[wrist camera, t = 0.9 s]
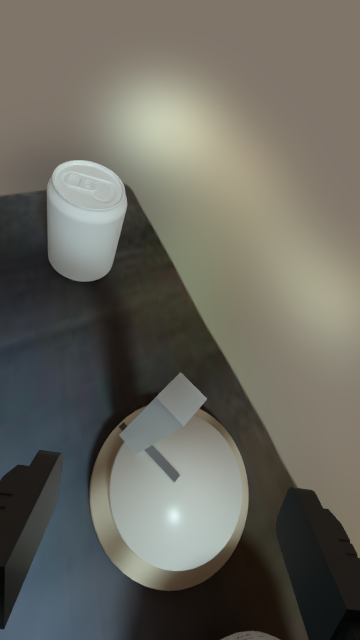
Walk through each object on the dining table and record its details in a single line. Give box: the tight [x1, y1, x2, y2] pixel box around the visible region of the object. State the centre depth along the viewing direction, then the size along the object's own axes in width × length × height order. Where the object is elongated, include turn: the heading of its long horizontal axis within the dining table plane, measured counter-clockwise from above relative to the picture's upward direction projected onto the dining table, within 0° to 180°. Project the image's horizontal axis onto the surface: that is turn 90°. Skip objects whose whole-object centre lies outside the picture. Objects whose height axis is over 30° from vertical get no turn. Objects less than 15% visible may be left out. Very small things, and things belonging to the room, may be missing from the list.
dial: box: [108, 372, 242, 571], centre depth 24 cm, size 14×13×14 cm
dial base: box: [89, 406, 248, 591], centre depth 31 cm, size 16×16×2 cm
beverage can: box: [47, 160, 127, 282], centre depth 36 cm, size 8×8×12 cm
